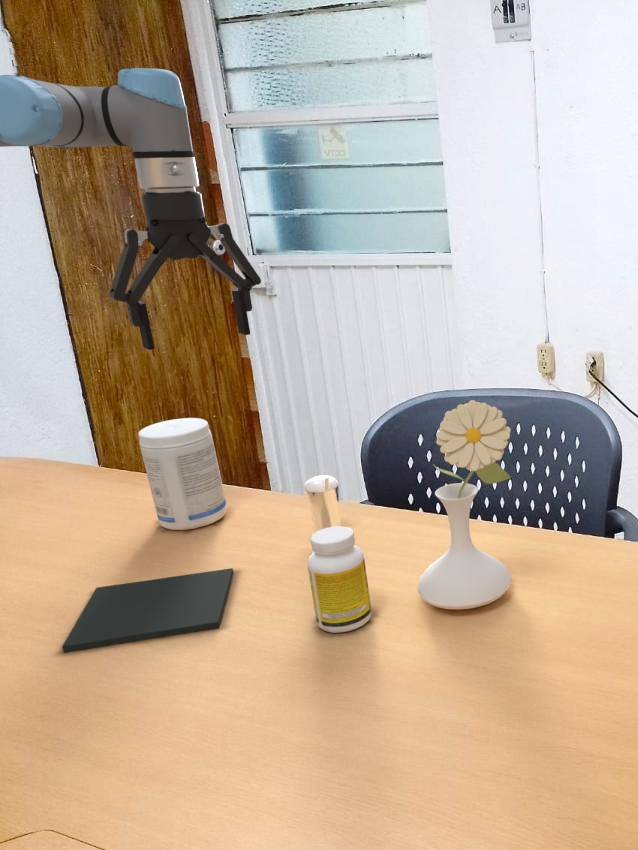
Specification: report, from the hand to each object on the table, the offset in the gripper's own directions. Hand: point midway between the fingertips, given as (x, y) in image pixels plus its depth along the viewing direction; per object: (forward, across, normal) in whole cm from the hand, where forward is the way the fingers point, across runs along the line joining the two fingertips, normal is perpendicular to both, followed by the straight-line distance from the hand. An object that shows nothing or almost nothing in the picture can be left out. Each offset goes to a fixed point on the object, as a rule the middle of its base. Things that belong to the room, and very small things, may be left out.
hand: (198, 340), depth 123 cm
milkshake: (+26, +5, -24) cm, 36 cm away
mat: (+26, -19, -28) cm, 42 cm away
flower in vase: (+26, +10, -53) cm, 60 cm away
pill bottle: (+26, -4, -47) cm, 54 cm away
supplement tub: (+26, -6, -3) cm, 27 cm away
